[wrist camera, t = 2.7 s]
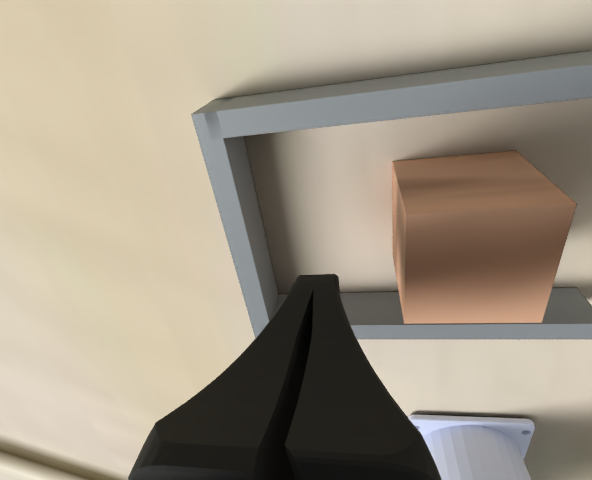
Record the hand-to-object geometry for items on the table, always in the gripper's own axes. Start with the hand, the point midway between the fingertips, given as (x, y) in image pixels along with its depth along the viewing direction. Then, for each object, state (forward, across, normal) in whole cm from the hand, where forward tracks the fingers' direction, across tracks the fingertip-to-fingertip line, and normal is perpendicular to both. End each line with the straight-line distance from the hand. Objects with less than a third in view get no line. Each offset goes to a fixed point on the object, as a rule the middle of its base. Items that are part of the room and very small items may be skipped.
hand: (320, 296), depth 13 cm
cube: (+6, -6, 0) cm, 8 cm away
